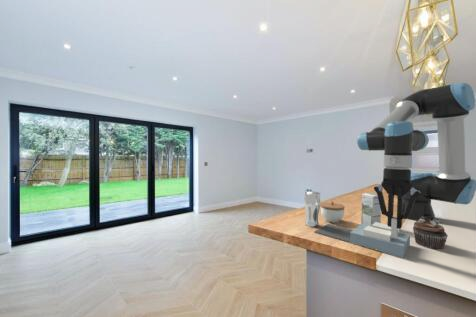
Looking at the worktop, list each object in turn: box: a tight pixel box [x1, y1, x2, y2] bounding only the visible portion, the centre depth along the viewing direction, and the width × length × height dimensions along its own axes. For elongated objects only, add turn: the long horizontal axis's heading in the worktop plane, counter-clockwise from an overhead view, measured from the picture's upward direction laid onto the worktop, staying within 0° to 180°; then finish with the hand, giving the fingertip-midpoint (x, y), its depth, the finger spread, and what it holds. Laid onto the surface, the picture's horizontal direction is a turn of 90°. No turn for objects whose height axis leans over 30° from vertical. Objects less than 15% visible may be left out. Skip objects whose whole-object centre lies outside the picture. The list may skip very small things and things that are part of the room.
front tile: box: [363, 226, 392, 242], centre depth 78 cm, size 6×8×2 cm
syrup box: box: [360, 192, 382, 226], centre depth 101 cm, size 6×6×14 cm
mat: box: [313, 223, 354, 243], centre depth 91 cm, size 14×14×1 cm
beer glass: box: [304, 190, 322, 228], centre depth 100 cm, size 7×7×15 cm
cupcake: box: [412, 216, 448, 250], centre depth 81 cm, size 10×10×10 cm
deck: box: [349, 223, 411, 259], centre depth 81 cm, size 14×16×4 cm
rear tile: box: [372, 222, 401, 234], centre depth 83 cm, size 6×8×2 cm
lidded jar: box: [320, 201, 346, 224], centre depth 107 cm, size 11×11×9 cm
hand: (394, 236), depth 75 cm, fingers closed
